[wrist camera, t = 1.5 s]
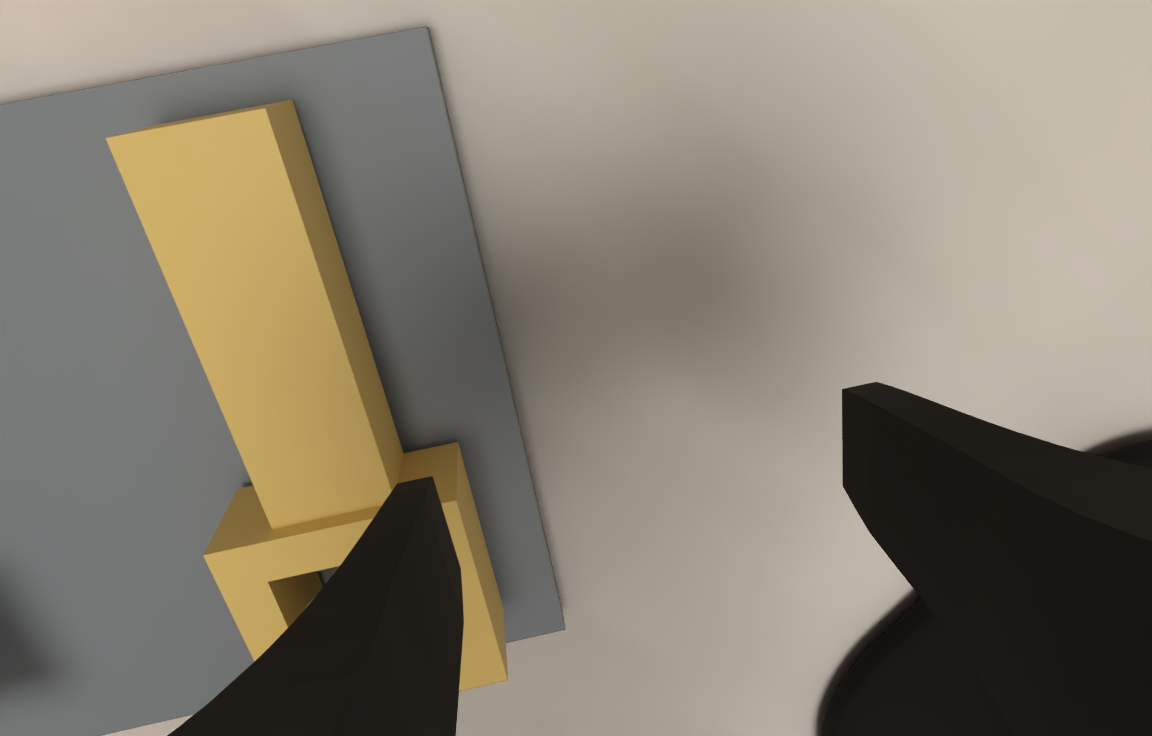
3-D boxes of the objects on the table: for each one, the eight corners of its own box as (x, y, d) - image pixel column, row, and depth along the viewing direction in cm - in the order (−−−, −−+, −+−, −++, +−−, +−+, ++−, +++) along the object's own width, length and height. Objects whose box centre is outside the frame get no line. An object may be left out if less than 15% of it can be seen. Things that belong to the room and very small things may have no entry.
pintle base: (562, 609, 26) (583, 740, 21) (-71, 752, 25) (-204, 926, 20) (428, 27, 18) (413, 21, 13) (-514, 200, 17) (-916, 264, 12)
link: (503, 607, 24) (507, 679, 21) (308, 651, 24) (288, 730, 21) (360, 86, 17) (340, 95, 14) (84, 138, 17) (9, 156, 14)
